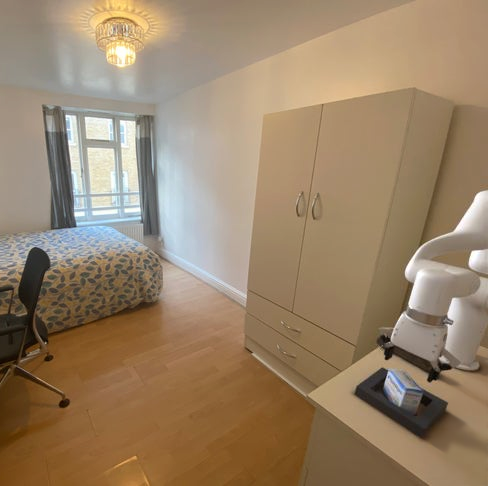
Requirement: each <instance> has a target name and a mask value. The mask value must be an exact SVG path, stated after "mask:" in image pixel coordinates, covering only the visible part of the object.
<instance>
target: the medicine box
mask: <svg viewBox="0 0 488 486" xmlns="http://www.w3.org/2000/svg"><path fill="white" fill-rule="evenodd" d="M388 370H389V371H388V374H387V378H386V381H385V384H383V387H382V393H383V394H384V395H385V397H386V399H388V400H389V401H391V402H393V403H394V404H396V405H398V406H399V407H401V408H402V409H404V410H406V411H407V412H409V413H411V414H412V415H414V416H415V415H416V414H417V411H418V409H419V405H420V404H421V403H420V400H421V397H422V394H423V390H422V389H423V388H422V387H421V386H420V385H418V383H417V382H416V381H415V380H414V379H413V378H412V377H411V376H410V374H408V372H406V370H403V369H396V368H389V369H388ZM421 388H422V389H421Z"/></svg>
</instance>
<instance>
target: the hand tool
mask: <svg viewBox="0 0 488 486" xmlns="http://www.w3.org/2000/svg"><path fill="white" fill-rule="evenodd" d="M389 339H390V340H391V337H389ZM375 343H376V344H377V345H378V346H379V347H381V346H382V345H383V346H382V347H381V348H382V349H383V350H385V346H384V342H383V341H382V339H381V337H380V336H379V337H377V338H376V341H375ZM394 347H395V349H394V352H393V354H395V355H397V356H399V357H400V358H402V359H404V360H406V361H408V362H410V363H412V364H413V365H415V366H417V367H419V368H421V369H422V370H424V371H426V372H428V373H429V372H430V370H431V369H432V368H433V367H432V365H431V363H430V362H429V361H428V360H426V359H423V358H421V357H419V356H417V355H415V354H413V353H410V352H408V351H406V350H404V349H402V348H400V347H398V346H396V345H394ZM441 373H442V371H440V374H441Z"/></svg>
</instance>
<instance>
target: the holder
mask: <svg viewBox="0 0 488 486" xmlns="http://www.w3.org/2000/svg"><path fill="white" fill-rule="evenodd" d="M388 371H389V369H387V368H385V367H384V366H382V367H380V368H379V369H378V370H376V371H375V372H373V373H372V374H370V376H368V377H366V378H365V379H364V380H363V381H361V382H360V383H359V384H357V385H356V387H355V391H354V395H355V396H356V397H357V398H359V399H360V400H362V401H364V402H365V403H367V404H368V405H370V406H371V407H373V408H374V409H376V410H377V411H379V412H380V413H382V414H383V415H384V416H386V417H387V418H390V419H391V420H392V421H394V422H396V423H397V424H398V425H400V426H402V427H403V428H405V429H406V430H408V431H409V432H410V433H412V434H413V435H414V436H416V437H418V438H419V439H423V438H424V436H425V435H426V434H427V433H428V432H429V430H430V429H432V427H433V426H434V425H435V424H436V422H437V421H438V420H439V419H440V418H441V417H442V416H443V415H444V414H445V412H446V410H447V407H448V405H449V402H448V401H446V400H444V399H443V398H441V397H439V396H437V395H435V394H433V393H431V392H430V391H427V390H426V389H424V388H422V387H420V388H421V389H422V390H423V394H422V397H421V400H420V403H419V404H421V405H423V406H425V408H424V409H423V410H422V411H421V412H419V414H418V415H417V416H415V415H412V414H411V413H409V412H407V411H406V410H404V409H402V408H401V407H399V406H398V405H396V404H394V403H393V402H391V401H390V400H389V399H388V398H387V397H386V396H383V395H381V394H380V393H378V392H377V390H378V389H380V388H381V387H382V386H384V384H385V381H386V378H387V374H388Z"/></svg>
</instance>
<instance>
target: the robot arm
mask: <svg viewBox="0 0 488 486" xmlns="http://www.w3.org/2000/svg"><path fill="white" fill-rule="evenodd" d="M465 252H471V253H470V256H469V258H468V259H469V260H468V267H469V268H470V269H471V270H470V269H467V268H464V267H459V266H454V265H451V264H447V263H443V262H439V261H434V260H432V259H433V258H436V257H437V256H441V255H445V254H446V255H447V254H453V253H465ZM476 272H477V273H480V274H483V275H488V189H487V190H482V191H479V192H478V193H477V194H476V195H475V196H474V199H473V202H472V203H471V205H470V206H469V208H468V209H467V210H466V212H465V213H464V215H463V217H462V218H461V220H460V221H459V223H458V224H457V226H456V227H455V229H454V230H453V231H451V232H447V233H445V234H442V235H440V236H437V237H434V238H433V239H430V240H429V241H427V242H425V243H423V244H422V245H421V246H419V248H418V249H417V250H416V252H415V253H414V254H413V256H412V257H411V259H410V260H409V262H408V264H407V265H406V267H405V270H404V276H405V279H406V280H407V281H408V282H410V283H412V284H413V286H412V290H411V294H410V296H409V300H408V303H407V307H406V310H403V312H402V313H401V315H400V316H399V318H398V320H397V321H396V324H395V325H394V327H390V326H389V327H388V326H381V327H379V328H377V330H378V333H379V335H380V336H379V337H381V339H382V341H383V342H384V346H385V349H384V352H383V355H384V357H383V358H384V359H383V360H384V361H389V360H391V359H392V358H393V355H394V353H393V352H394V349H395V347H394V345H396V346H398V347H400V348H402V349H404V350H406V351H408V352H410V353H413V354H415V355H417V356H419V357H421V358H423V359H426V360H428V361H429V362H430V363H431V365H432V367H433V368H432V369H431V370H430V372H428V375H427V379H426V381H427V383H429V384H430V383H432V382H433V381H434V382H436V381H438V379H439V376H440V374H441V373H440V371H441V372H445V371H451V370H452V369H454V368H456V369H459V370H464V371H477V370H478V369H479V368H480V362H479V361H478V360H477V359H476V356H477V353H478V350H479V348H480V345H481V343H482V340H483V338H484V335H485V333H486V330H487V327H488V314H487V312H486V310H488V277H484V276H479V275H478V274H477V273H476ZM485 309H486V310H485ZM388 334H391V336H390V337H389V336H388ZM389 338H390V339H391V340H390V339H389Z"/></svg>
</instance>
